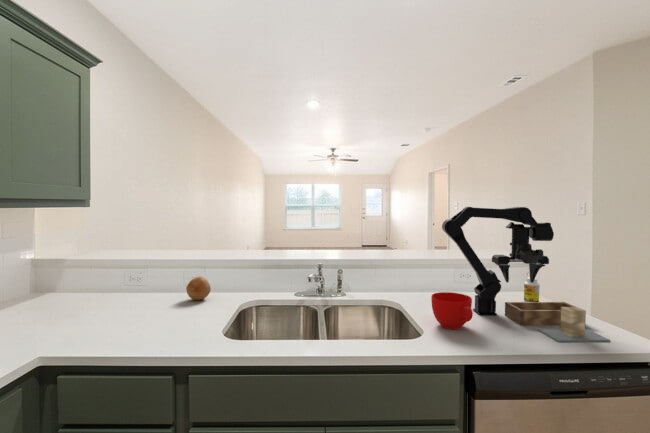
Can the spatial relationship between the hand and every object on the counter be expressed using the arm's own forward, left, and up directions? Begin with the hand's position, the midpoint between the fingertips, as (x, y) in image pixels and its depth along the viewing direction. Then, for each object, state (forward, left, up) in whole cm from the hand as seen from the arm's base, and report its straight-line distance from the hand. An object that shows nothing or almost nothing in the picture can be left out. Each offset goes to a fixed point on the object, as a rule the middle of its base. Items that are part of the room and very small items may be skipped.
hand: (519, 282), depth 136 cm
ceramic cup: (-30, -14, -12) cm, 35 cm away
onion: (-127, +22, -12) cm, 129 cm away
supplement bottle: (+14, +16, -12) cm, 25 cm away
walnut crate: (+5, -7, -12) cm, 15 cm away
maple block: (+5, -22, -12) cm, 25 cm away
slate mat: (+5, -22, -12) cm, 26 cm away
